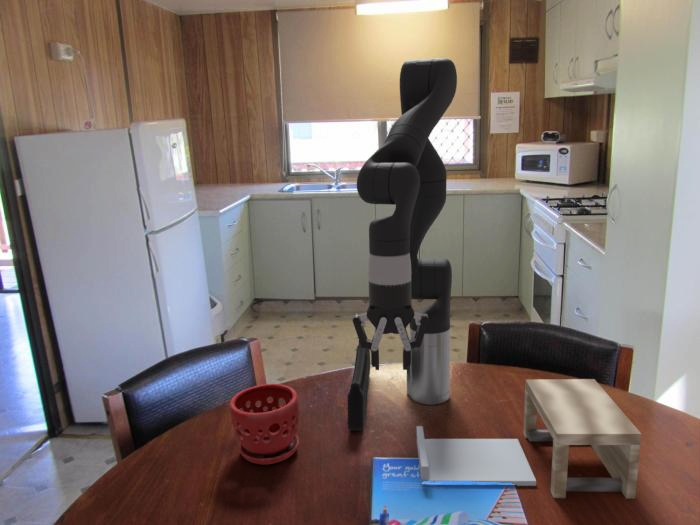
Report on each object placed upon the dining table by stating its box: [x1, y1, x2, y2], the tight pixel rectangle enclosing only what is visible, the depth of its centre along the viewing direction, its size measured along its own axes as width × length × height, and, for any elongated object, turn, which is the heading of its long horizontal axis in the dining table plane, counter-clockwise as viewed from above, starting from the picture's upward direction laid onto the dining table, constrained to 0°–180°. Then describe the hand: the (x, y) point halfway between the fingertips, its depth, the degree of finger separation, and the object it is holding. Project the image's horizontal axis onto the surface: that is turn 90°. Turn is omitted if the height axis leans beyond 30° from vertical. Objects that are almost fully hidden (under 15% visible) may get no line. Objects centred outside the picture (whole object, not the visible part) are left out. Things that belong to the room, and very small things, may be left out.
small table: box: [522, 378, 642, 500], centre depth 105 cm, size 14×21×12 cm, turn 177°
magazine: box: [347, 340, 371, 432], centre depth 131 cm, size 17×3×30 cm
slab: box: [416, 425, 537, 487], centre depth 107 cm, size 20×14×4 cm
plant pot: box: [229, 383, 300, 466], centre depth 112 cm, size 13×13×12 cm
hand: (391, 367), depth 104 cm, fingers open, 4 cm apart
